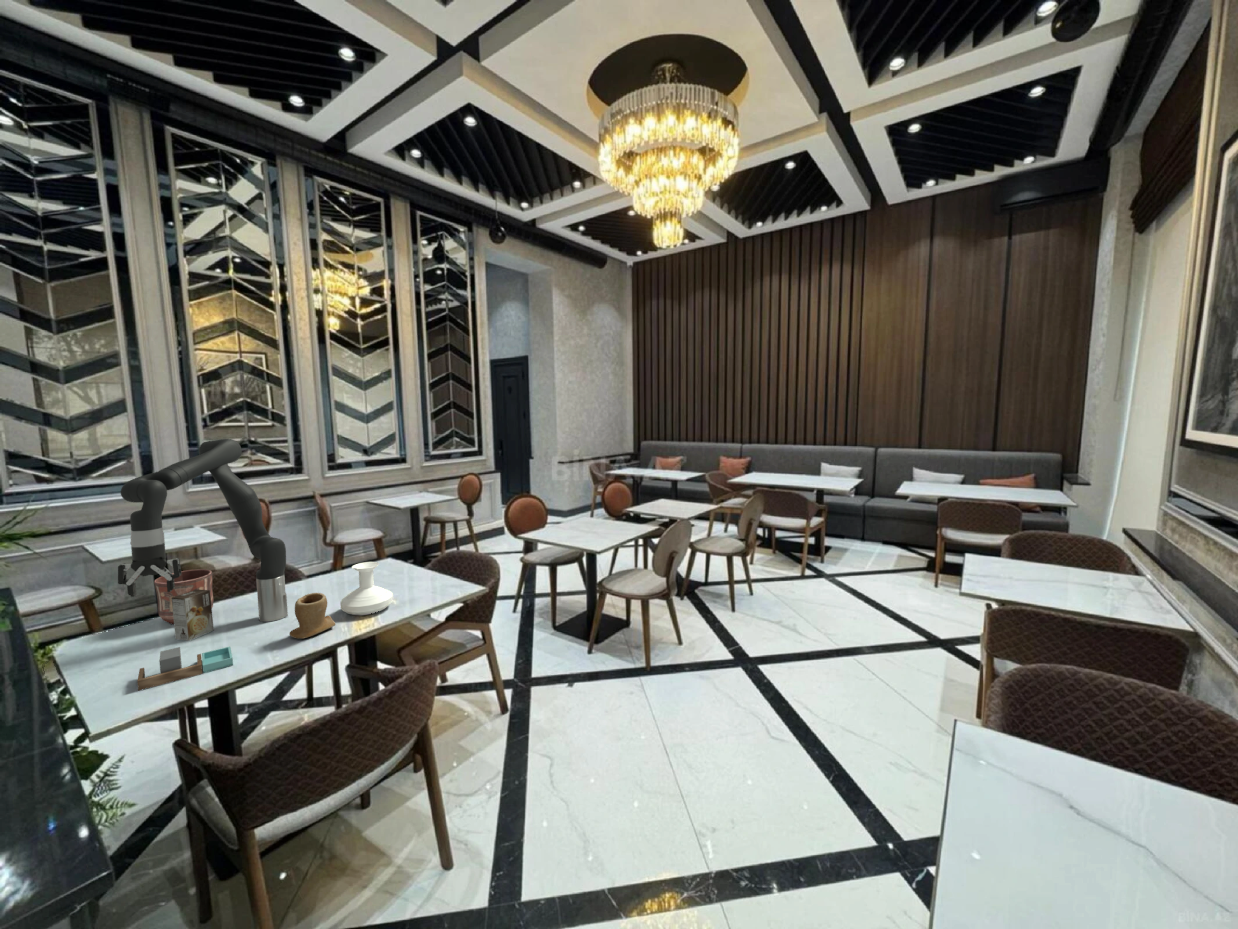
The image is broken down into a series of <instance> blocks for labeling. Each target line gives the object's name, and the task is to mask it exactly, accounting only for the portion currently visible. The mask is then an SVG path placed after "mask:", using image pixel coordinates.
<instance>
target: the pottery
mask: <svg viewBox="0 0 1238 929" xmlns="http://www.w3.org/2000/svg"><path fill="white" fill-rule="evenodd" d="M181 573H182V574H181V575H180V576H179V577H178V578H175V579H174V584H175V587H174V589H173V590H172V591H171V592H167V579H166V578H164V577H163V576H160V577H158V578H156V579H154V581H153V582H154V583H153V584H154V589H155V594H156V598H157V611H158V613H157V614H158V616H159V617H160V619H161V620H162V621H163V622H166V623H168V624H170V625H174V617H173V607H172V597H175V596H178V595H181V594H184V593H187V592H191V591H194V590H210V596H211V607H212V608H213V607H214V594H213V571H212V570H211V569H210V570H209V569H205V568H204V569H203V568H202V569H201V568H200V569H199V568H198V569H197V568H196V569H188V570H187V569H186V570H183V571H182V570H181ZM172 574H174V572H172Z"/></svg>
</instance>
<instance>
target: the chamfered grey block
mask: <svg viewBox="0 0 1238 929" xmlns="http://www.w3.org/2000/svg"><path fill="white" fill-rule="evenodd" d="M158 662H159V670H160V671H159V672H160V673H159V674H161V673H165V672H169V671H173V670H177V669H181V668H183V666H182V654H181V647H180V646H179V647H174V648H170V649H165V650H162V651H160V652H159V661H158Z"/></svg>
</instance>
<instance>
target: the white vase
mask: <svg viewBox="0 0 1238 929" xmlns="http://www.w3.org/2000/svg"><path fill="white" fill-rule="evenodd" d="M379 565H380V563H379V562H376V561H365V562H359V563H357V564H354V565H352V566H351V568H352V569H353V570H355V571H357V572H358V580H359V583H358V584H359V587H357V588H356V589H354V590H353V591H351V592H350V593H348V594H347V595H345V596H344V597H343V598H342V599H341V601H340V604H339V605H340V609H341V610H342V611H343V613H347V614H349V615H353V616H366V615H371V613H372V614H375V612H376V613H379V612H381V611H383V610H385V609H387V607H388V606H389V607H390V605H391V604H392V603H394V602H393V601H394V593H393V592H392V591H391V590H389V589H387V588H383V587H381V586H377V585H375V582H374V570H375V569H376V568H377V567H378V566H379ZM378 611H379V612H378Z"/></svg>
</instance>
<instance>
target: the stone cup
mask: <svg viewBox="0 0 1238 929" xmlns="http://www.w3.org/2000/svg"><path fill="white" fill-rule="evenodd" d="M327 608H328V599H327V596H326V595H325V594H324V593H321V592H311V593H307V594H305V595H303V596H302V597H300V598H298V599H297V600H296V601H295V604H294V615H295V617H296V620H297V623H298V625H299V626H298V627H296V628H294V629H292V630H291V631H289V636H290V637H292V638H294V639H299V640H300V639H306V638H309V637H313V636H316V635H317V634H320V633H322V632H324V631H326V630H329V629H331V628H333V627H335V626H336V625H337V624H336V622H335V621H334V619H333V618H332V617H331V615H327V616H326V612H327Z"/></svg>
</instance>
